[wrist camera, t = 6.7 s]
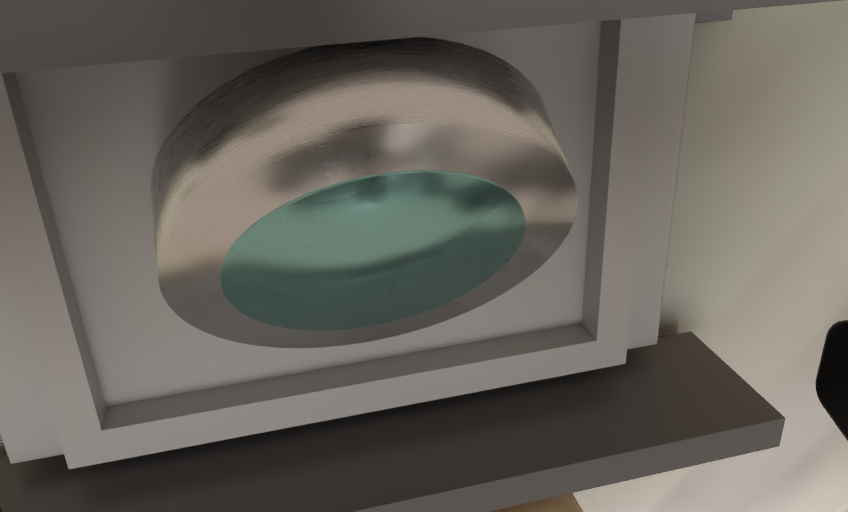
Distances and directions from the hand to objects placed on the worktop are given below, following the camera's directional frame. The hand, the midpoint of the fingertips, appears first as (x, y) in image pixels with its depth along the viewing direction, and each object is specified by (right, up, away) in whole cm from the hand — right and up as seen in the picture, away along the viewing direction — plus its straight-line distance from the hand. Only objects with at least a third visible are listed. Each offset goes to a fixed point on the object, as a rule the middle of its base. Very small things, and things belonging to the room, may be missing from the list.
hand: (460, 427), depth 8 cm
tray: (-2, +4, +8) cm, 10 cm away
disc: (-1, +3, +5) cm, 6 cm away
